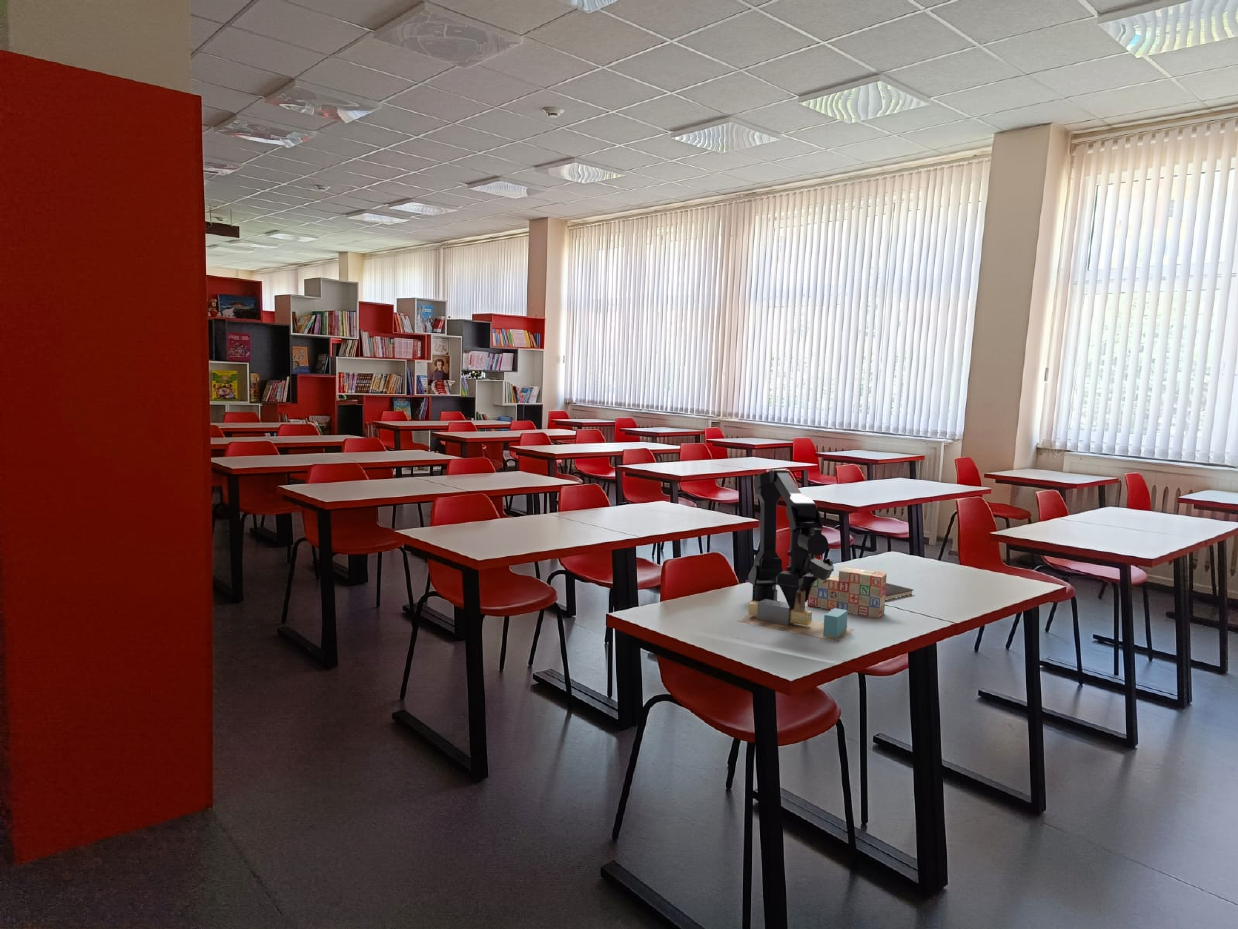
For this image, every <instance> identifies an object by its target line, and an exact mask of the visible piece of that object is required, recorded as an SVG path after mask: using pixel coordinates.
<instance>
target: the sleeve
mask: <svg viewBox="0 0 1238 929" xmlns="http://www.w3.org/2000/svg"><path fill="white" fill-rule="evenodd" d="M789 614H790V608H789V605H788V603H787V601H786V602H785V601H780V600H777V601H775V600H769V599H764V600H762V601H760V602H758V607H757V620H758V621H763V622H768V623H773V624H778V625H783V626H790V625H791V624H793V623H790V622H789Z"/></svg>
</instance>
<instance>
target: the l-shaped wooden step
mask: <svg viewBox="0 0 1238 929" xmlns="http://www.w3.org/2000/svg"><path fill="white" fill-rule="evenodd" d="M805 594H806V590H800V589H799V590H798V592H797V598H796V603H795V608H794V609H790V614H789V622H790V623H795V624H800V625H806V626H808V625H809V624H811V621H813V620H812V619H813V618H812V614H813V611H811V610H807V609H806V602H805ZM757 607H758V601H753V600H751V602H748V615H754V616H757Z"/></svg>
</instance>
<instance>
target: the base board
mask: <svg viewBox="0 0 1238 929" xmlns="http://www.w3.org/2000/svg"><path fill="white" fill-rule="evenodd" d="M737 622H740V623H744V624H749V625H750V624H751V625H755V626H760V627H764V628H768V629H769V628H770V629H775V630H778V631H779V630H780V631H785V632H790V633H794V634H800V635H803V636H809V637H815V638H819V639H824V640H831V641H835V642H840V641H841V640H842V639H844V638H845V637H846V636H848V635H849V634H850V633H852V632H853V631H854V630H855V628H851V627H847V631H845V632H844V633H843V634H841V635H840V636H838V637H837V638H835V637H830V636H825V635H823V632H824V622H818V621H814V620H812V621H811V624H809V625H808V626H806V625H800V624H795V623H793V624H791V625H790V626H783V625H778V624H773V623H768V622H763V621H758V620H757V616H754V615H749V614H748V615H746V616H744V617H743V618H740V619H738V620H737Z"/></svg>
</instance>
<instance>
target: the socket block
mask: <svg viewBox="0 0 1238 929" xmlns="http://www.w3.org/2000/svg"><path fill="white" fill-rule="evenodd" d="M848 614H849V613H848V610H842V609H837V608H834V609H832V610H829V611H828V612H826V613H824V615H823V623H824V632H823V635H825V636H830V637H835V638H837V637H838V636H840V635H841V634H843V633H844V632H845V631H847V628H848Z"/></svg>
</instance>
